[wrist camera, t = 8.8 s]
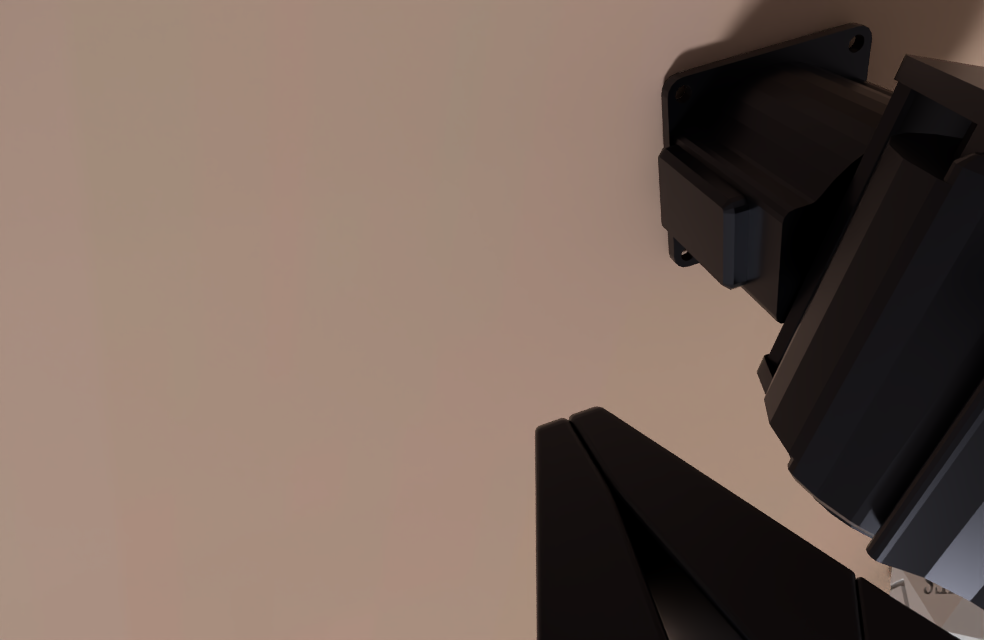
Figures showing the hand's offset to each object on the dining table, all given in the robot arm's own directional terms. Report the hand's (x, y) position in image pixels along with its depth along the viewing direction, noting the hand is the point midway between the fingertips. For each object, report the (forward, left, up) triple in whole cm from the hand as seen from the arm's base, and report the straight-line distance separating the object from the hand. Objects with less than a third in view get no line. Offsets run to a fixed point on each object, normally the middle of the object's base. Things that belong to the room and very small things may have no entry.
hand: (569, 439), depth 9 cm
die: (-22, +34, -13) cm, 43 cm away
